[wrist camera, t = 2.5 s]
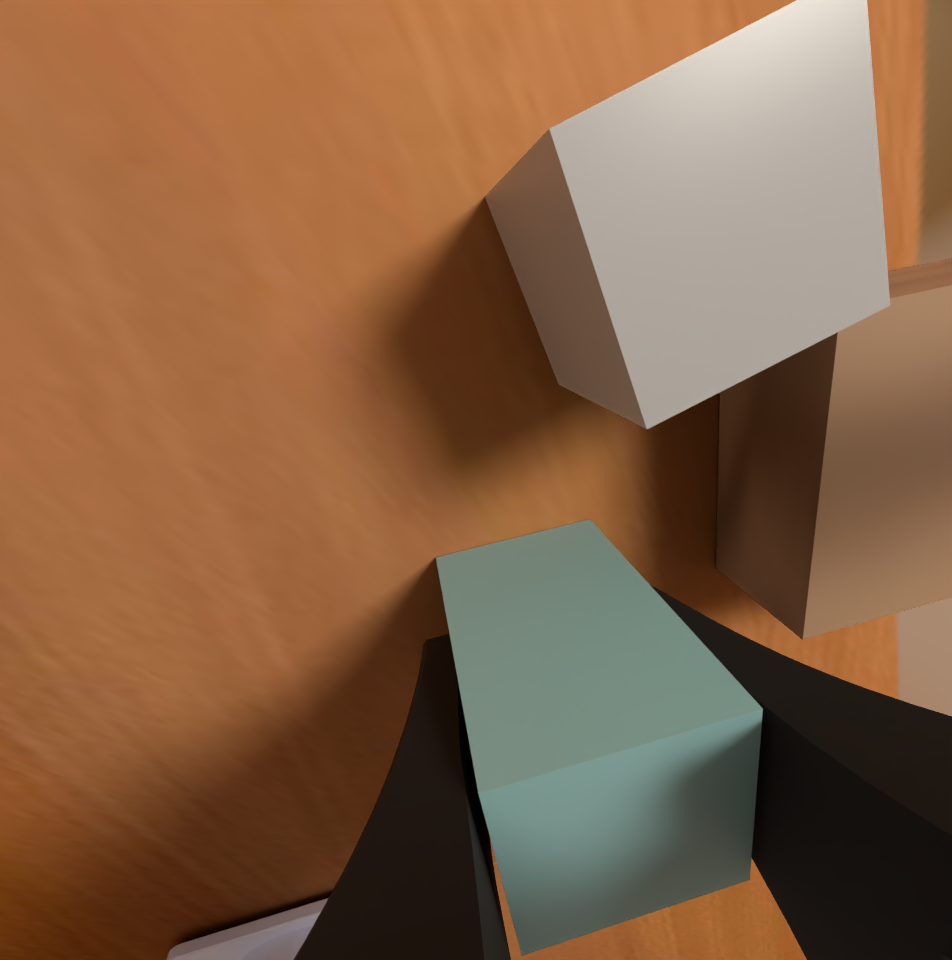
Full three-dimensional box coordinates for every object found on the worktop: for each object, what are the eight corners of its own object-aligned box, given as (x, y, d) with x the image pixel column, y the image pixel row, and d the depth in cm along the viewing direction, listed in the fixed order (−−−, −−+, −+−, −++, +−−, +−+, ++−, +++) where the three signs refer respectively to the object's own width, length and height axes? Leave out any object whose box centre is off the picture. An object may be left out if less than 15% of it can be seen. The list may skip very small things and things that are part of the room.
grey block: (715, 303, 11) (890, 305, 7) (557, 384, 11) (647, 429, 7) (669, 101, 9) (864, -35, 5) (483, 197, 9) (549, 129, 5)
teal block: (601, 641, 13) (749, 879, 8) (465, 678, 13) (521, 955, 8) (589, 519, 12) (762, 708, 6) (435, 557, 12) (478, 793, 6)
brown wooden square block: (936, 509, 14) (1072, 562, 11) (716, 568, 13) (802, 639, 10) (994, 249, 11) (1192, 233, 8) (721, 306, 10) (840, 309, 8)
